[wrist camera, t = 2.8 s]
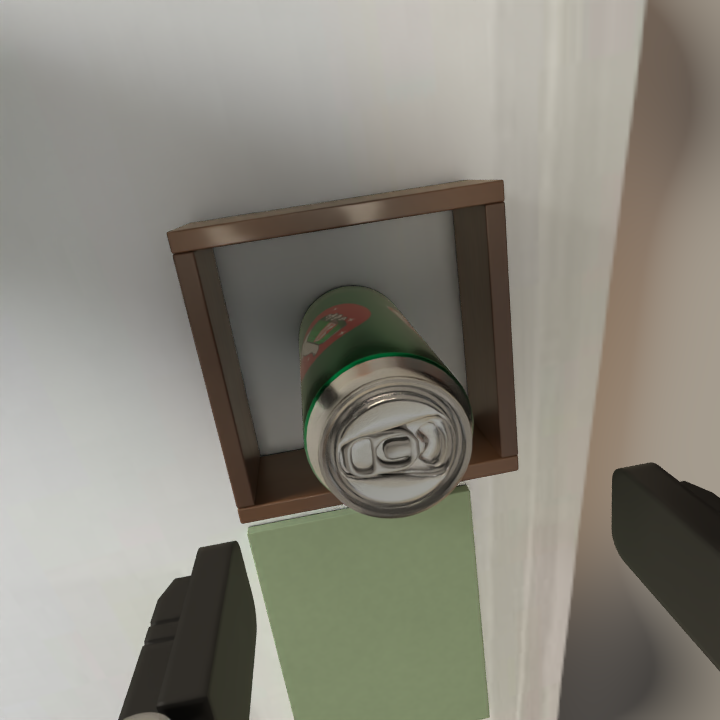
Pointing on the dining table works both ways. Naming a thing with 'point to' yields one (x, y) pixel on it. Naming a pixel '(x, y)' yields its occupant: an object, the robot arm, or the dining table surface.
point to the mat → (376, 613)
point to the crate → (466, 198)
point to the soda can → (379, 407)
